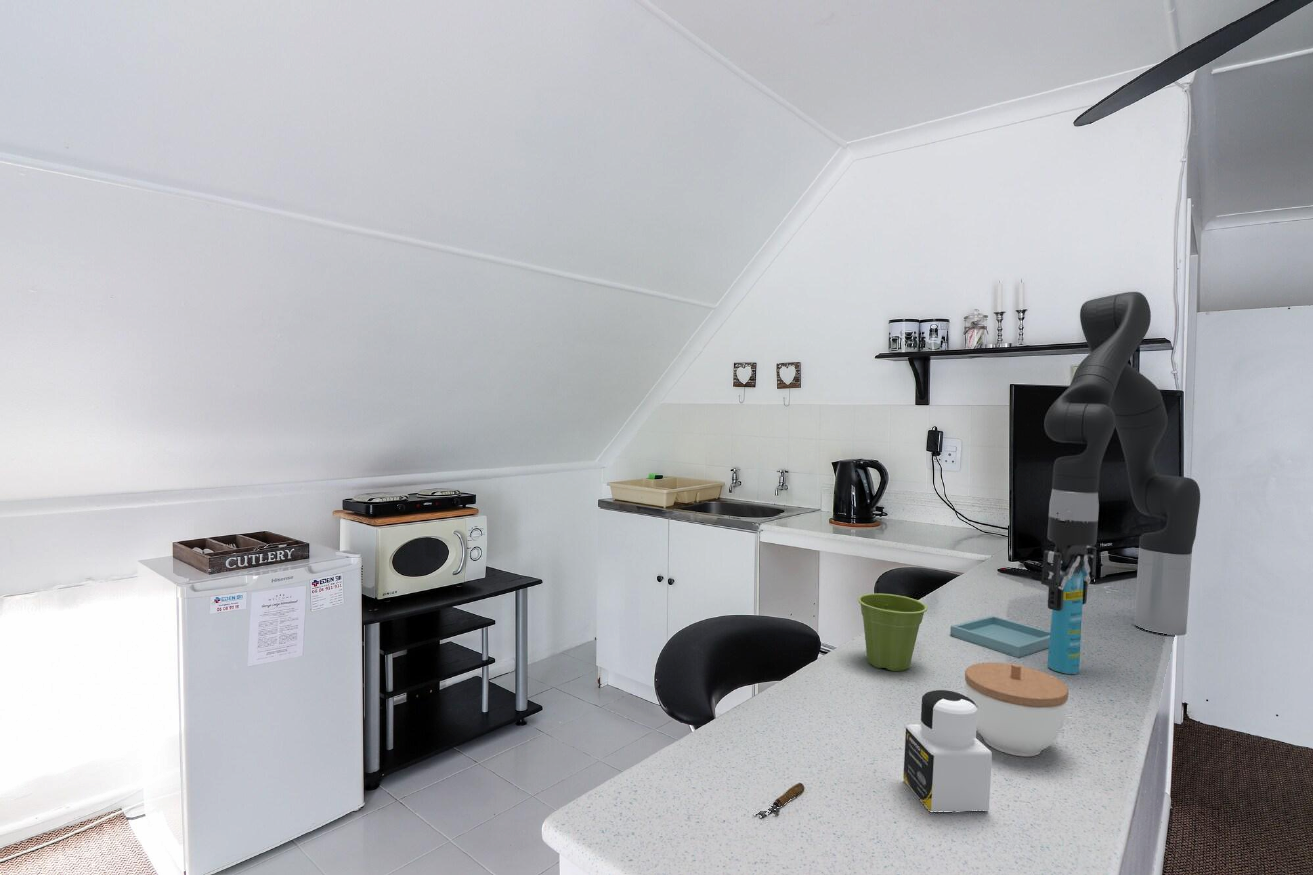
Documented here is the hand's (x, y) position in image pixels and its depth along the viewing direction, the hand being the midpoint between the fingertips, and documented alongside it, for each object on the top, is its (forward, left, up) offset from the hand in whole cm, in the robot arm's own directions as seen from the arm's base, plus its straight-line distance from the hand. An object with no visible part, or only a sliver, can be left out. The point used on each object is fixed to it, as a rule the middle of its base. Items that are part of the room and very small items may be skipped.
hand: (1067, 606), depth 125 cm
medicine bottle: (+56, +14, -12) cm, 59 cm away
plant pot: (+26, -17, -12) cm, 33 cm away
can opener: (+74, +5, -12) cm, 75 cm away
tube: (0, 0, -12) cm, 12 cm away
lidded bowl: (+36, +11, -12) cm, 39 cm away
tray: (-6, -14, -11) cm, 19 cm away
